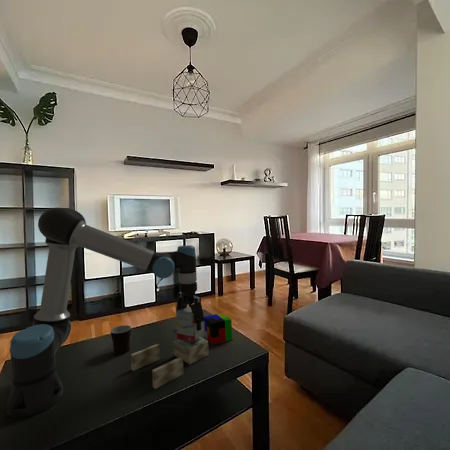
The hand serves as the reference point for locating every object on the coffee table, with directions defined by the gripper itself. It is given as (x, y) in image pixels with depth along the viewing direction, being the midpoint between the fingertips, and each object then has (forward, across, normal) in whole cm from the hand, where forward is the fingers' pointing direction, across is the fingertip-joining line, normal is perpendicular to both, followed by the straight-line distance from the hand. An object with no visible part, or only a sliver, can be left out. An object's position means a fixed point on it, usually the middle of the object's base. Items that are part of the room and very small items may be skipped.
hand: (190, 334), depth 114 cm
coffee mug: (+9, +28, +17) cm, 34 cm away
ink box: (+1, 0, 0) cm, 1 cm away
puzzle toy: (+9, +3, -19) cm, 21 cm away
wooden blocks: (+9, 0, +9) cm, 13 cm away
